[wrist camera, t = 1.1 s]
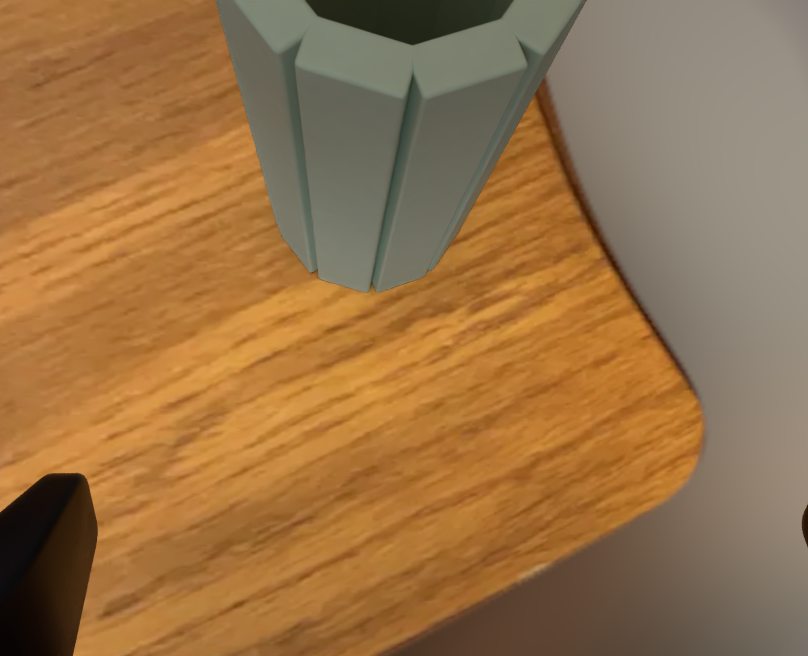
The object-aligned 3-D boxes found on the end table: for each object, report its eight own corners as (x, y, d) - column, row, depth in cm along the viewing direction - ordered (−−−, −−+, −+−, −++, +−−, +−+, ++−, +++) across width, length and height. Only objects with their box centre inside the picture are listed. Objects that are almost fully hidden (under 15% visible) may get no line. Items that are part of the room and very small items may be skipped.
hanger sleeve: (435, 313, 23) (555, 145, 10) (249, 259, 23) (137, 17, 10) (482, 144, 24) (646, -202, 11) (305, 91, 24) (266, -325, 11)
